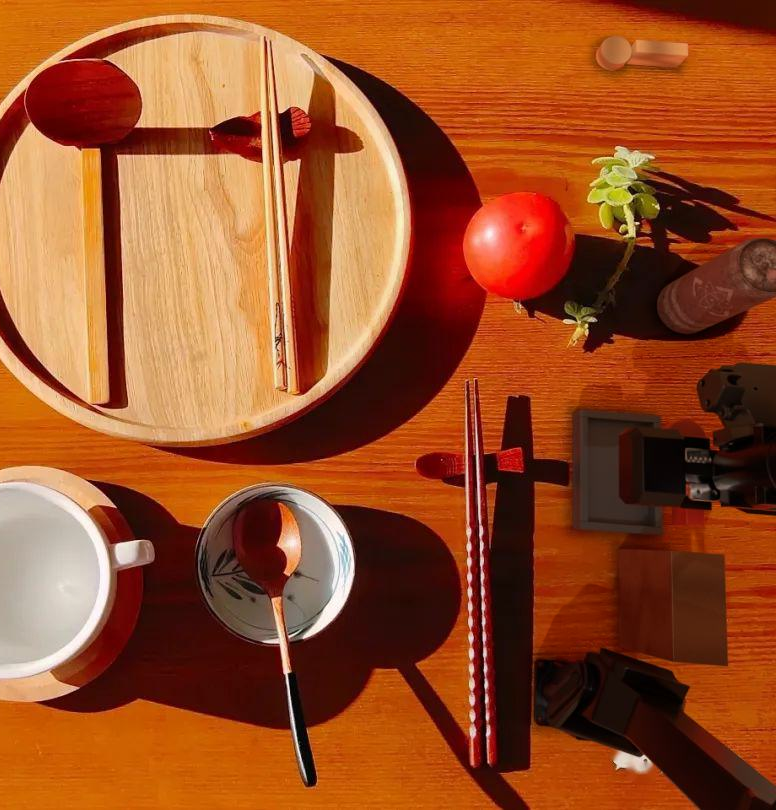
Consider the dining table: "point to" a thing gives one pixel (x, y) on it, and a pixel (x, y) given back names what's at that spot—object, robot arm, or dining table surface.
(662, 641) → the stand
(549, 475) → the dining table surface
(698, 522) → the red spoon
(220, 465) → the dining table surface
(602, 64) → the birch spoon
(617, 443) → the tray
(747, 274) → the can
